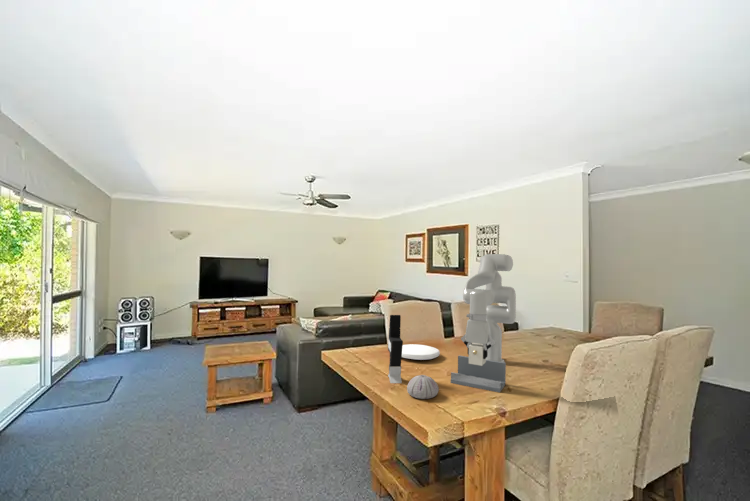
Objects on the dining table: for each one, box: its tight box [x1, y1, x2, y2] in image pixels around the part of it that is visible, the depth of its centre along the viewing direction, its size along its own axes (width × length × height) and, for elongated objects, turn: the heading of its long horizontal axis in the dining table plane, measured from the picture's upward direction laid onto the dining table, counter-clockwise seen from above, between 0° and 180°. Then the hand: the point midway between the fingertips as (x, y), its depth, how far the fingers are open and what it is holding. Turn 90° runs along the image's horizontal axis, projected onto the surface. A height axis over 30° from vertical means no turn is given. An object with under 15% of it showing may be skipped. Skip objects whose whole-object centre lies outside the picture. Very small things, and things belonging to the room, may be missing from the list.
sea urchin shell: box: [406, 374, 440, 400], centre depth 153 cm, size 13×14×8 cm
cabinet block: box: [468, 343, 486, 366], centre depth 167 cm, size 8×6×8 cm
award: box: [387, 314, 404, 384], centre depth 173 cm, size 15×5×30 cm, turn 5°
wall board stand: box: [450, 354, 507, 394], centre depth 168 cm, size 12×22×10 cm, turn 59°
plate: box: [402, 343, 441, 361], centre depth 213 cm, size 28×6×27 cm
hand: (477, 356), depth 167 cm, fingers closed on cabinet block, 6 cm apart
